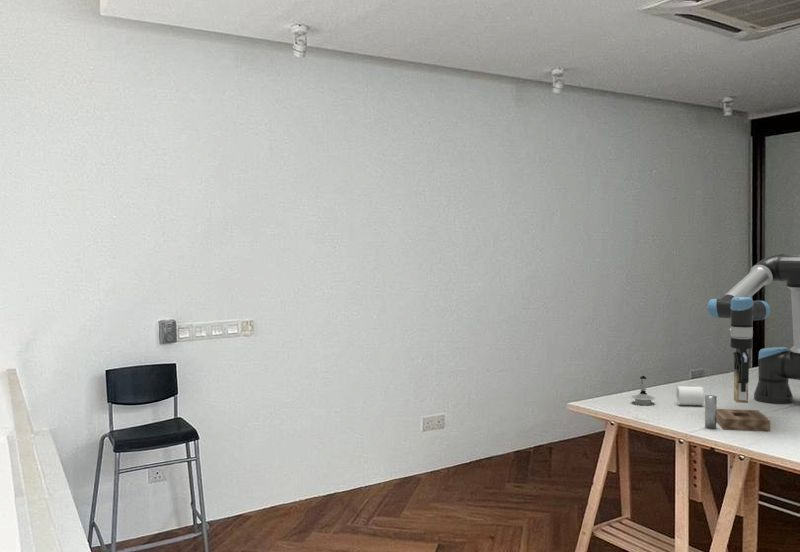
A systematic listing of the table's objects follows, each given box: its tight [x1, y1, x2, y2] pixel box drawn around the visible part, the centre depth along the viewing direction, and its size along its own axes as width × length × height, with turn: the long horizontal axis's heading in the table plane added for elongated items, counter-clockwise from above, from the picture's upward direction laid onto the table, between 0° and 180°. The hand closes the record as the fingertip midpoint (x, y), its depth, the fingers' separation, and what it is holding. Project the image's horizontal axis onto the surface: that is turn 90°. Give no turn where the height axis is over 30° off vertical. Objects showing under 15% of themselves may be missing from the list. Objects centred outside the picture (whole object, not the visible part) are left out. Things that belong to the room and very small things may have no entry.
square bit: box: [733, 368, 749, 404], centre depth 266 cm, size 4×4×12 cm
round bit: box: [704, 394, 718, 430], centre depth 263 cm, size 4×4×12 cm
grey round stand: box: [630, 375, 656, 406], centre depth 305 cm, size 12×10×10 cm
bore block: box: [716, 408, 771, 432], centre depth 266 cm, size 16×16×4 cm
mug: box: [675, 385, 705, 407], centre depth 302 cm, size 12×10×8 cm
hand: (740, 398), depth 266 cm, fingers closed on square bit, 4 cm apart
